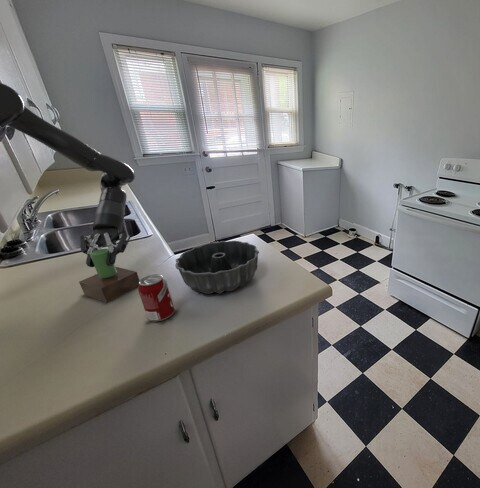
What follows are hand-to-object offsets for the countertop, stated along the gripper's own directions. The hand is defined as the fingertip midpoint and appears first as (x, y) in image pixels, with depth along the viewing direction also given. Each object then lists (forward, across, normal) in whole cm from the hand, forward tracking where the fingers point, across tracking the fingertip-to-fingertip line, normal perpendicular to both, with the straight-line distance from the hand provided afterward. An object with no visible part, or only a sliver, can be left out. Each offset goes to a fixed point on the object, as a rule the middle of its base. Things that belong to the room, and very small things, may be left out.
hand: (100, 265), depth 84 cm
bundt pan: (+6, +35, +9) cm, 36 cm away
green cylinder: (+2, 0, +4) cm, 5 cm away
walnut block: (+6, 0, +8) cm, 10 cm away
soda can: (+18, +21, -4) cm, 28 cm away
